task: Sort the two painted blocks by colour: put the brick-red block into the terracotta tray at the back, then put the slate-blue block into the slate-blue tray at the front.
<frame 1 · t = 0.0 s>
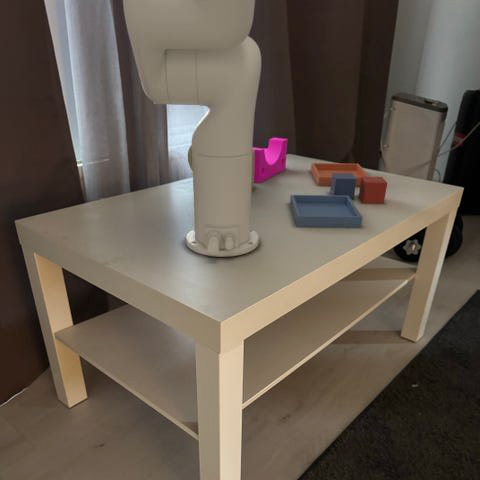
sugar bowl: (225, 190, 110), on the table
blue tray: (323, 214, 97), on the table
toy block: (261, 174, 122), on the table
red block: (370, 200, 106), on the table
blue block: (341, 196, 108), on the table
red tray: (338, 178, 120), on the table
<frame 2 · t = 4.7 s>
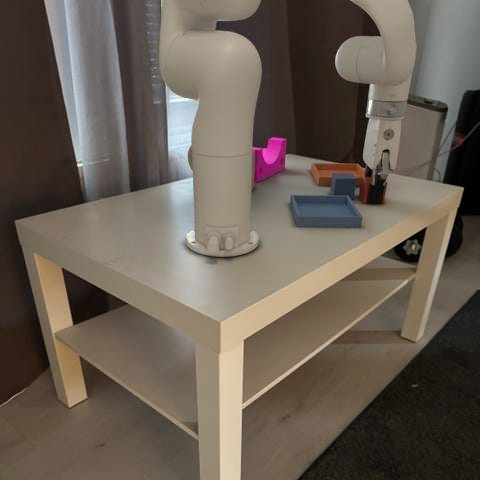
hand: (371, 198, 105), 0 cm above the table, tool pointing down, fingers closed on red block, 4 cm apart
red block: (370, 200, 106), on the table, touching gripper
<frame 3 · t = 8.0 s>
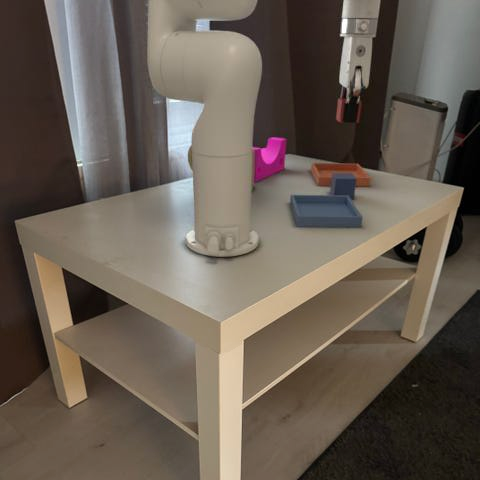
hand: (347, 119, 112), 14 cm above the table, tool pointing down, fingers closed on red block, 4 cm apart
red block: (347, 120, 113), point 13 cm above the table, touching gripper
when the fingers open (1 cm above the table, at t = 11.2 s): red block stays where it is, resting on red tray.
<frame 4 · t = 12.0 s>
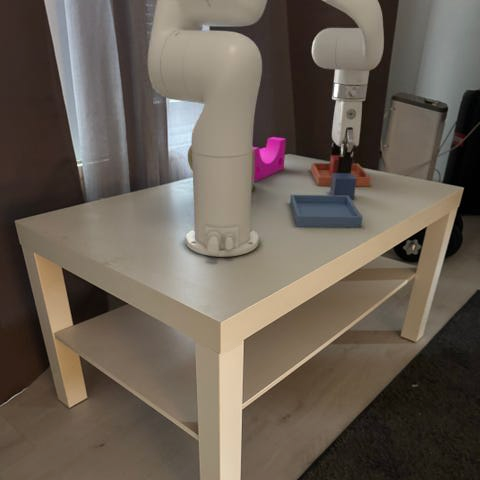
hand: (339, 168, 119), 2 cm above the table, tool pointing down, fingers open, 9 cm apart
red block: (339, 176, 120), resting on red tray
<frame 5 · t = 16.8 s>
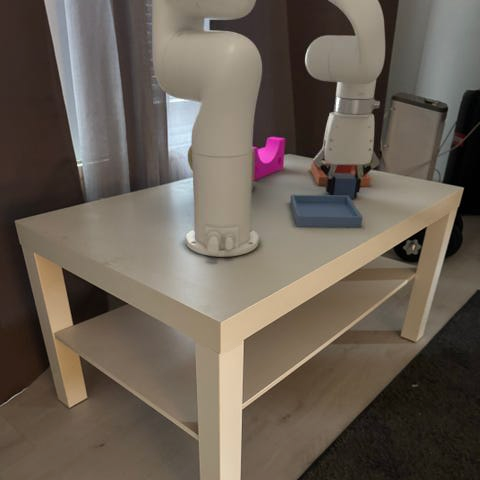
hand: (341, 194, 108), 0 cm above the table, tool pointing down, fingers closed on blue block, 4 cm apart
blue block: (341, 196, 108), on the table, touching gripper
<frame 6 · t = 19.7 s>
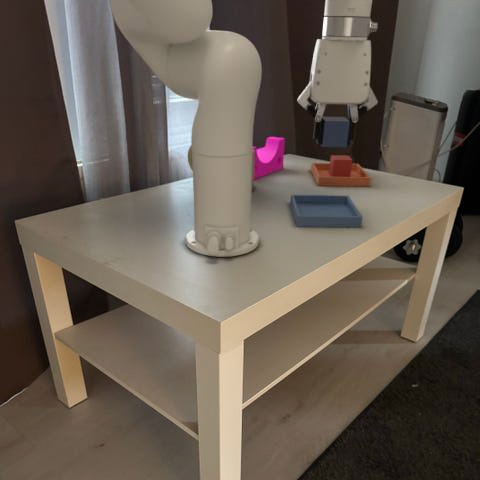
hand: (332, 142, 90), 14 cm above the table, tool pointing down, fingers closed on blue block, 4 cm apart
blue block: (332, 144, 90), point 13 cm above the table, touching gripper
when the fingers open (1 cm above the table, at t = 23.0 s): blue block stays where it is, resting on blue tray.
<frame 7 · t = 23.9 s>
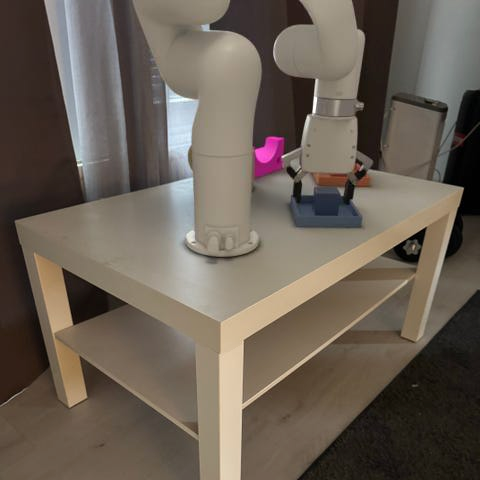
hand: (321, 201, 95), 3 cm above the table, tool pointing down, fingers open, 9 cm apart
blue block: (324, 212, 97), resting on blue tray
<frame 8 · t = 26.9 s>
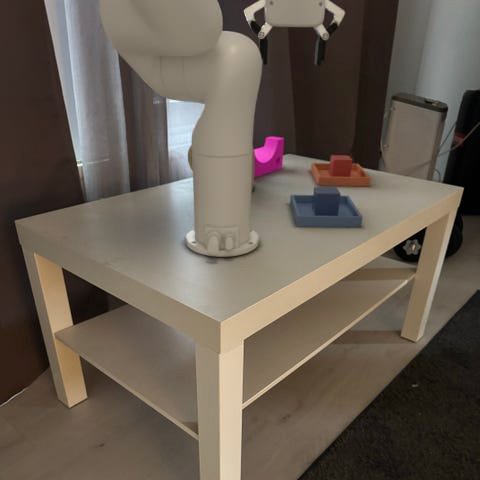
hand: (290, 64, 87), 26 cm above the table, tool pointing down, fingers open, 9 cm apart
at the end: red block inside the target area on the red tray (0.1 cm from its centre), point 0.5 cm above the red tray's base; blue block inside the target area on the blue tray (0.3 cm from its centre), point 0.5 cm above the blue tray's base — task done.
